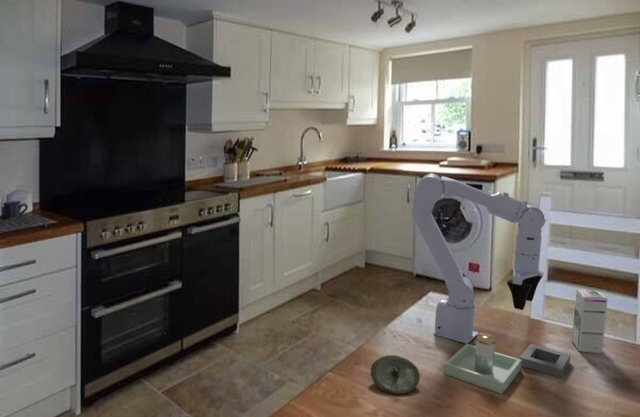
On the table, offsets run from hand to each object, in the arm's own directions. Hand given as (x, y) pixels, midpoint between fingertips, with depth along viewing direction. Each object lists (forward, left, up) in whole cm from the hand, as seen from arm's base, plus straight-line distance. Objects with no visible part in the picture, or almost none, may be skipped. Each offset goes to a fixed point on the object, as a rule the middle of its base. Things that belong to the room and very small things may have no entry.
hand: (523, 304), depth 122 cm
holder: (+8, -8, -10) cm, 15 cm away
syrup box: (+14, +8, -11) cm, 19 cm away
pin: (-2, -21, -10) cm, 23 cm away
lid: (-15, -38, -11) cm, 42 cm away
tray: (-2, -21, -10) cm, 24 cm away
